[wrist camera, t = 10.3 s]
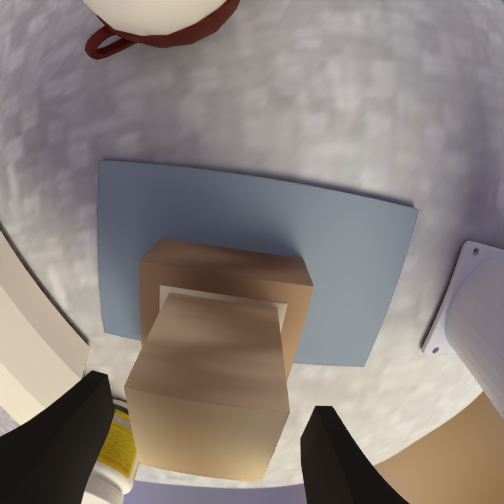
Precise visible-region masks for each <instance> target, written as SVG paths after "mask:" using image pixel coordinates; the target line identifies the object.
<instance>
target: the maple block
mask: <svg viewBox="0 0 504 504" xmlns="http://www.w3.org/2000/svg"><path fill="white" fill-rule="evenodd" d="M124 389H125V395H126V401H127V407H128V412H129V417H130V423H131V428H132V432H133V437H134V441H135V446H136V450H137V454H138V458H139V462H140V464H143V465H147V466H151V467H155V468H160V469H165V470H170V471H175V472H180V473H186V474H192V475H198V476H205V477H212V478H220V479H229V480H240V481H254V482H261V480H262V478H263V476H264V474H265V471H266V469H267V467H268V465H269V462H270V460H271V458H272V455H273V453H274V450H275V448H276V446H277V443H278V441H279V438H280V436H281V433H282V431H283V428H284V426H285V423H286V420H287V418H288V415H289V413H290V409H289V400H288V392H287V383H286V374H285V366H284V357H283V349H282V341H281V332H280V324H279V316H278V308H275V307H267V306H259V305H252V304H245V303H238V302H231V301H224V300H217V299H210V298H204V297H197V296H191V295H185V294H179V293H173V292H169V294H168V296H167V298H166V300H165V302H164V304H163V306H162V308H161V310H160V312H159V314H158V316H157V318H156V320H155V322H154V324H153V326H152V328H151V331H150V333H149V335H148V337H147V339H146V341H145V343H144V345H143V347H142V349H141V351H140V353H139V356H138V358H137V360H136V362H135V364H134V366H133V368H132V370H131V373H130V375H129V377H128V379H127V381H126V384H125V386H124Z"/></svg>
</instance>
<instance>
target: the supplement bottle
mask: <svg viewBox="0 0 504 504" xmlns="http://www.w3.org/2000/svg"><path fill="white" fill-rule="evenodd" d="M113 403H114V408H115V413H114V417H113V420H112V424H111V427H110V430H109V433H108V436H107V438H106V440H105V443H104V445H103V447H102V449H101V452H100V454H99V456H98V459H97V461H96V463H95V465H94V468H93V470H92V472H91V475H90V477H89V479H88V482H87V485H86V488H85V491H84V495H83V499H82V503H81V504H122V503H123V499H124V496H123V494H126V493H128V492H129V491H130V490H131V489H132V487H133V483H134V480H135V476H136V473H137V469H138V466H139V463H140V462H139V458H138V454H137V450H136V446H135V441H134V437H133V432H132V428H131V423H130V417H129V412H128V407H127V403H125V402H123V401H120V400H115V399H113Z"/></svg>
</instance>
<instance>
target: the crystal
mask: <svg viewBox="0 0 504 504" xmlns="http://www.w3.org/2000/svg"><path fill="white" fill-rule="evenodd" d="M89 350H90V347H89V346H88V345H87V344H86V343H85V342H84V341H83V340H82V338H81V337H80V336H79V335H78V334H77V333H76V332H75V331H74V329H73V328H72V327H71V326H70V325H69V324H68V323H67V321H66V320H65V319H64V318H63V317H62V316H61V314H60V313H59V312H58V311H57V309H56V308H55V307H54V306H53V305H52V303H51V302H50V301H49V300H48V298H47V297H46V296H45V294H44V293H43V292H42V291H41V289H40V288H39V287H38V285H37V284H36V283H35V281H34V280H33V278H32V277H31V276H30V274H29V273H28V272H27V270H26V269H25V267H24V266H23V264H22V263H21V262H20V260H19V259H18V257H17V256H16V254H15V253H14V251H13V250H12V248H11V247H10V245H9V243H8V242H7V240H6V239H5V237H4V236H3V234H2V232H1V231H0V406H1V407H2V408H3V409H4V410H5V411H6V412H7V413H8V414H9V415H10V416H11V417H12V418H13V419H14V420H15V421H17V422H18V423H19V424H20V425H22V424H24V423H26V422H27V421H29V420H30V419H32V418H33V417H34V416H36V415H37V414H39V413H40V412H41V411H43V410H44V409H46V408H47V407H48V406H50V405H51V404H52V403H53V402H55V401H56V400H57V399H58V398H60V397H61V396H62V395H63V394H65V393H66V392H67V391H68V390H69V389H71V388H72V387H73V386H74V385H75V384H76V383H78V382H79V381H80V380H81V379H82V375H83V372H84V368H85V364H86V361H87V357H88V354H89Z"/></svg>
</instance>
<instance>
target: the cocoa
mask: <svg viewBox="0 0 504 504" xmlns="http://www.w3.org/2000/svg"><path fill="white" fill-rule="evenodd" d="M82 1H83V2H84V3H85V4H86V5H87V6H88V7H89V8H90V9H91V10H92V11H93V12H95V13H96V14H97V17H98V18H99V19H100V21H101V22H102V23H103V24H104V25H105V26H104V27H102V28H101V29H99V30H98V31H97V32H96V33H94V34H93V35H92V36H91V37H90V39H89V40H88V41H87V43H86V45H85V51H86V53H87V54H88V55H89V56H90V57H91V58H93V59H96V60H97V59H102V58H106V57H108V56H111V55H113V54H115V53H117V52H120V51H122V50H124V49H126V48H128V47H129V46H131V45H133V44H135V43H138V42H139V43H143V44H147V45H151V46H155V47H159V48H166V47H173V46H180V45H188V44H193V43H195V42H196V41H198V40H200V39H202V38H204V37H206V36H208V35H210V34H212V33H214V32H216V31H217V30H218V29H219V28H220V27H221V26H222V25H223V24H224V23H225V21H226V20H227V19H228V18H229V17H230V16H231V15H232V14H233V13H234V11H235V10H236V9H237V7H238V4H239V2H240V0H82ZM113 35H118V36H120V37H122V39H120V40H118V41H116V42H114V43H112V44H110V45H108V46H106V47H102V48H98V47H99V45H100V44H101V43H102V42H103V41H104V40H106V39H107V38H109V37H111V36H113ZM97 48H98V49H97Z"/></svg>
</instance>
